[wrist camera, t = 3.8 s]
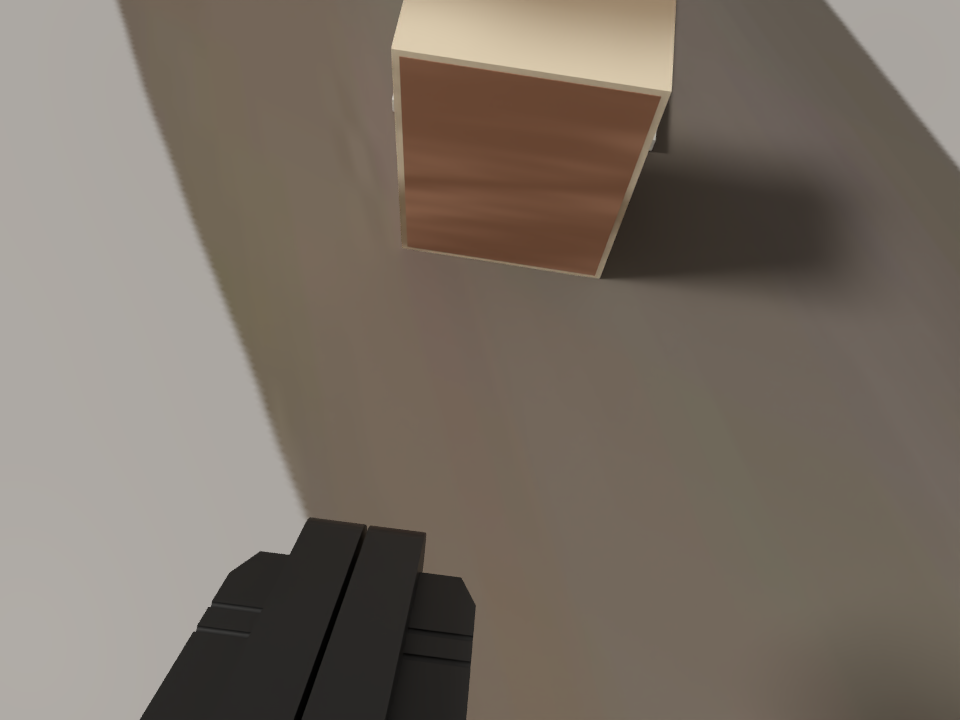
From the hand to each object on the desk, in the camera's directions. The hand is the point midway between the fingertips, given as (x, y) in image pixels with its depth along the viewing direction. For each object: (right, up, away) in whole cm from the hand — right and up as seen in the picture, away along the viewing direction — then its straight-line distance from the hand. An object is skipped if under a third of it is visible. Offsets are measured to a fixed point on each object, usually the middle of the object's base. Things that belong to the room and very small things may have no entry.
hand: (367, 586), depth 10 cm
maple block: (+3, +9, +18) cm, 20 cm away
